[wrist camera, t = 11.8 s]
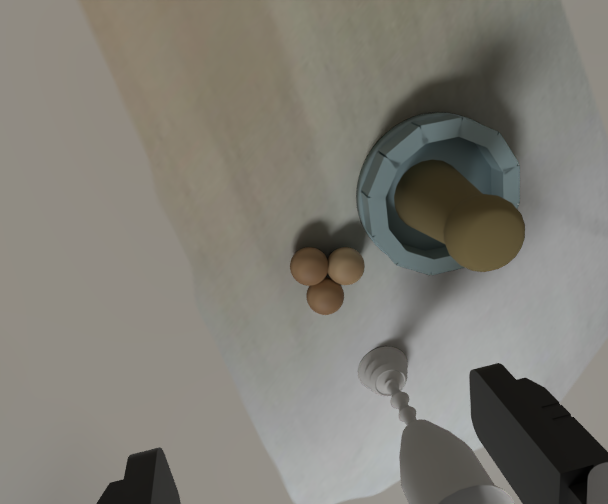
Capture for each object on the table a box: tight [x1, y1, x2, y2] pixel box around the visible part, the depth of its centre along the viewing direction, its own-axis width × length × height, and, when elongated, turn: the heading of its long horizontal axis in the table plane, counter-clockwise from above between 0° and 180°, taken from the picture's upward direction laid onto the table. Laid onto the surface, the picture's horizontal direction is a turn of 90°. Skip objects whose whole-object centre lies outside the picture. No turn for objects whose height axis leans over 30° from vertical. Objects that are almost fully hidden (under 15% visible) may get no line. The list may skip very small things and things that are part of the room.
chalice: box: [358, 346, 515, 504], centre depth 42 cm, size 7×7×18 cm
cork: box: [394, 159, 525, 272], centre depth 38 cm, size 6×6×11 cm
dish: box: [356, 112, 520, 275], centre depth 43 cm, size 13×13×3 cm
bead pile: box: [290, 247, 364, 315], centre depth 44 cm, size 6×6×3 cm
